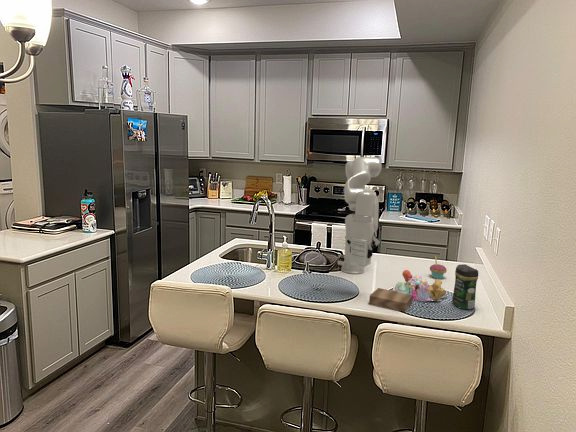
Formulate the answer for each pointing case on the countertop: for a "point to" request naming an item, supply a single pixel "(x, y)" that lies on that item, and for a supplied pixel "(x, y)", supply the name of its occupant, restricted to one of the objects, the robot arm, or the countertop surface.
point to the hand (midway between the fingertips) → (360, 255)
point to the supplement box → (359, 253)
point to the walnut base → (390, 299)
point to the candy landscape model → (420, 288)
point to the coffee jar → (465, 287)
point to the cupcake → (437, 270)
